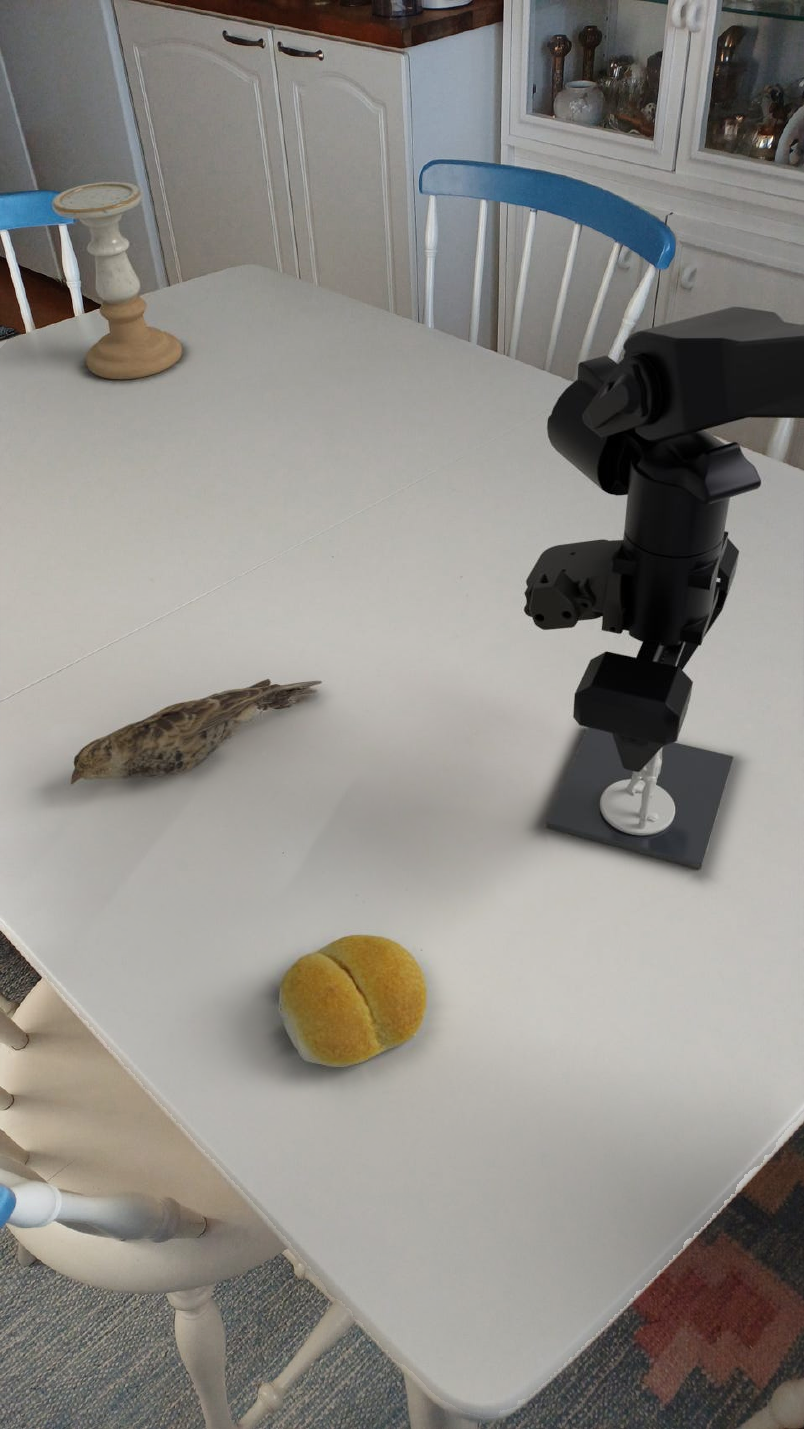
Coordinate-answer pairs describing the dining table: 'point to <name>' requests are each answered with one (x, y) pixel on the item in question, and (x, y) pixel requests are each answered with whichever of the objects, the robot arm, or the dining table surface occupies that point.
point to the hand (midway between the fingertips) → (649, 724)
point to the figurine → (639, 802)
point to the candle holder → (117, 285)
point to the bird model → (181, 733)
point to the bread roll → (352, 1000)
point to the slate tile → (683, 776)
